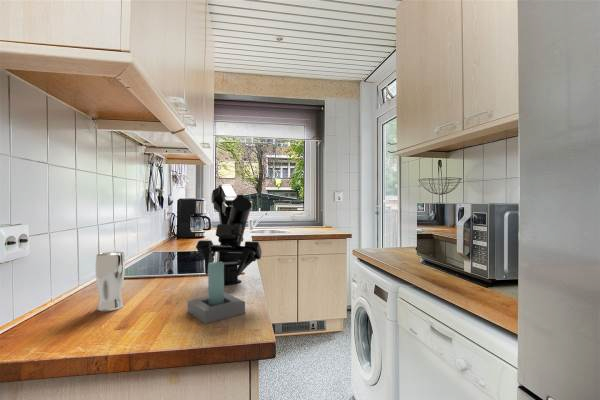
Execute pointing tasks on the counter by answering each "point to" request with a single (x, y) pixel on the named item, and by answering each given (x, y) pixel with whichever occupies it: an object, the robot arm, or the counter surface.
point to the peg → (215, 283)
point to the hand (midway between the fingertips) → (221, 274)
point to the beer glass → (110, 280)
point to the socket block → (216, 308)
